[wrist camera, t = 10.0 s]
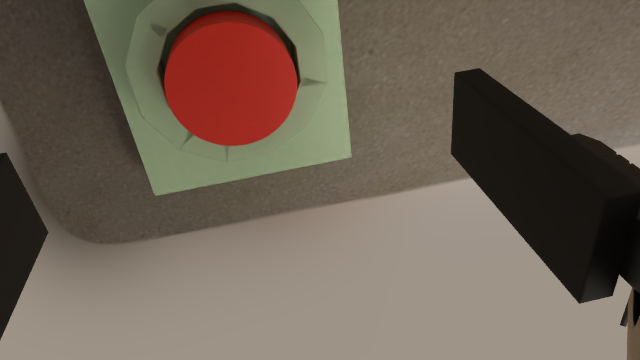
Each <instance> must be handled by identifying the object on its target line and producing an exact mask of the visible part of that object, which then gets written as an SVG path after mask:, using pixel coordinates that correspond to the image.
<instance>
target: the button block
mask: <svg viewBox="0 0 640 360" xmlns="http://www.w3.org/2000/svg"><path fill="white" fill-rule="evenodd" d="M84 3H85V6H86V8H87V11H88V14H89V17H90V19H91V22H92V25H93V28H94V30H95V33H96V36H97V39H98V41H99V44H100V47H101V50H102V52H103V55H104V58H105V61H106V63H107V66H108V69H109V72H110V74H111V77H112V80H113V83H114V85H115V88H116V91H117V94H118V96H119V99H120V102H121V105H122V107H123V110H124V113H125V116H126V118H127V121H128V124H129V127H130V129H131V132H132V135H133V138H134V140H135V143H136V146H137V149H138V151H139V154H140V157H141V160H142V162H143V165H144V168H145V171H146V173H147V176H148V179H149V182H150V184H151V187H152V190H153V193H154V195H155V196H158V195H163V194H168V193H173V192H178V191H183V190H188V189H193V188H199V187H204V186H209V185H214V184H219V183H224V182H229V181H234V180H239V179H244V178H249V177H254V176H260V175H265V174H270V173H275V172H280V171H285V170H290V169H295V168H300V167H305V166H310V165H315V164H321V163H326V162H331V161H336V160H341V159H346V158H351V157H352V156H351V145H350V134H349V122H348V111H347V100H346V89H345V78H344V67H343V56H342V45H341V33H340V22H339V11H338V0H84ZM224 10H229V11H239V12H244V13H247V14H250V15H253V16H255V17H257V18H259V19H261V20H262V21H264V22H266V23H267V24H268V25H269V26H271V27H272V28H273V29H274V30H275V31H276V32H277V33H278V35H279V36H280V38H281V39H282V40H283V42H284V44H285V46H286V48H287V50H288V52H289V55H290V57H291V59H292V62H293V64H294V67H295V71H296V76H297V94H296V99H295V102H294V105H293V108H292V110H291V112H290V114H289V116H288V117H287V119H286V120H285V121H284V123H283V124H282V125H281V126H280V127H279V128H278V129H277V130H276V131H274V132H273V133H272V134H270V135H269V136H267V137H265V138H264V139H262V140H259V141H257V142H254V143H251V144H247V145H240V146H224V145H218V144H213V143H210V142H207V141H205V140H203V139H201V138H198V137H197V136H195V135H194V134H192V133H191V132H189V131H188V130H187V129H186V128H184V126H183V125H182V124H181V123H180V122H179V121H178V120H177V118H176V117H175V116H174V114H173V112H172V111H171V109H170V107H169V104H168V101H167V98H166V94H165V87H164V78H165V71H166V66H167V61H168V57H169V52H170V50H171V47H172V44H173V43H174V41H175V39H176V37H177V36H178V34H179V33H180V32H181V31H182V30H183V29H184V28H185V27H186V26H187V25H188V24H189V23H191V22H192V21H193V20H195V19H197V18H198V17H200V16H203V15H205V14H208V13H212V12H216V11H224Z"/></svg>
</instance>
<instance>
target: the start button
mask: <svg viewBox="0 0 640 360" xmlns="http://www.w3.org/2000/svg"><path fill="white" fill-rule="evenodd" d="M164 87H165V94H166V98H167V101H168V104H169V107H170V109H171V111H172V112H173V114H174V116H175V117H176V118H177V120H178V121H179V122H180V123H181V124H182V125H183V126H184V128H186V129H187V130H188V131H189V132H191V133H192V134H194V135H195V136H197V137H198V138H201V139H203V140H205V141H207V142H210V143H213V144H218V145H224V146H240V145H247V144H251V143H254V142H257V141H259V140H262V139H264V138H265V137H267V136H269V135H270V134H272V133H273V132H274V131H276V130H277V129H278V128H279V127H280V126H281V125H282V124H283V123H284V121H285V120H286V119H287V117H288V116H289V114H290V112H291V110H292V108H293V105H294V102H295V99H296V94H297V76H296V71H295V67H294V64H293V62H292V59H291V57H290V55H289V52H288V50H287V48H286V46H285V44H284V42H283V40H282V39H281V38H280V36H279V35H278V33H277V32H276V31H275V30H274V29H273V28H272V27H271V26H269V25H268V24H267V23H266V22H264V21H262V20H261V19H259V18H257V17H255V16H253V15H250V14H247V13H244V12H239V11H229V10H224V11H216V12H212V13H208V14H205V15H203V16H200V17H198V18H197V19H195V20H193V21H192V22H191V23H189V24H188V25H187V26H186V27H185V28H184V29H183V30H182V31H181V32H180V33H179V34H178V36H177V37H176V39H175V41H174V43H173V44H172V47H171V50H170V52H169V57H168V61H167V66H166V71H165V78H164Z"/></svg>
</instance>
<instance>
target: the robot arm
mask: <svg viewBox="0 0 640 360" xmlns="http://www.w3.org/2000/svg"><path fill="white" fill-rule="evenodd" d="M451 154H452V155H453V157H454V158H455V159H456V160H457V161H458V162H459V164H460V165H461V166H462V167H463V168H464V169H465V171H466V172H467V173H468V174H469V175H470V176H471V178H472V179H473V180H474V181H475V182H476V183H477V185H478V186H479V187H480V188H481V189H482V190H483V192H484V193H485V194H486V195H487V196H488V197H489V199H490V200H491V201H492V202H493V203H494V204H495V206H496V207H497V208H498V209H499V210H500V211H501V213H502V214H503V215H504V216H505V217H506V218H507V220H508V221H509V222H510V223H511V224H512V225H513V227H514V228H515V229H516V230H517V231H518V233H519V234H520V235H521V236H522V237H523V238H524V240H525V241H526V242H527V243H528V244H529V245H530V247H532V249H533V250H534V251H535V252H536V254H537V255H538V256H539V257H540V258H541V259H542V261H543V262H544V263H545V264H546V265H547V266H548V268H549V269H550V270H551V271H552V272H553V273H554V275H555V276H556V277H557V278H558V279H559V280H560V282H561V283H562V284H563V285H564V286H565V288H567V290H568V291H569V292H570V293H571V294H572V296H573V297H574V298H575V299H576V300H577V302H578V303H579V304H580V303H584V302H588V301H592V300H597V299H601V298H605V297H610V296H613V292H614V289H615V286H616V283H617V279H618V276H619V275H621V277H622V278H624V280H626V281H627V282H628V283H629V284H630V285H631V286H632V287H633V288H632V291H631V294H630V297H629V300H628V302H627V305H626V308H625V312H624V314H623V317H622V320H621V323H620V325H622V326H626V325H627V323H628V337H627V360H640V169H639V168H638V167H637V166H635V165H634V164H630V163H629V161H628V160H627V159H625V158H624V157H622V156H621V155H617V154H616V152H615V151H614V150H612V149H611V148H609V147H608V146H606V145H605V144H604V143H602V142H601V141H598V140H595V139H593V138H590V137H587V136H585V135H582V134H574V135H570V134H569V133H567V132H566V131H564V130H563V129H562V128H560V127H559V126H558V125H556V124H555V123H554V122H552V121H551V120H549V119H548V118H547V117H545V116H544V115H543V114H541V113H540V112H538V111H537V110H536V109H534V108H533V107H532V106H530V105H529V104H528V103H526V102H525V101H523V100H522V99H521V98H519V97H518V96H517V95H515V94H514V93H512V92H511V91H510V90H508V89H507V88H506V87H504V86H503V85H502V84H500V83H499V82H497V81H496V80H495V79H493V78H492V77H491V76H489V75H488V74H486V73H485V72H484V71H482V70H481V69H480V68H478V69H473V70H467V71H461V72H456V73H455V76H454V99H453V121H452V143H451ZM47 234H48V231H47V229H46V227H45V225H44V223H43V221H42V219H41V217H40V216H39V214H38V212H37V210H36V208H35V206H34V204H33V202H32V200H31V199H30V197H29V195H28V193H27V191H26V189H25V187H24V185H23V183H22V182H21V179H20V178H19V176H18V174H17V172H16V170H15V168H14V166H13V164H12V163H11V161H10V159H9V157H8V155H7V153H1V154H0V339H1V337H2V335H3V333H4V330H5V328H6V326H7V324H8V321H9V319H10V317H11V315H12V312H13V310H14V308H15V306H16V304H17V301H18V299H19V297H20V294H21V292H22V290H23V288H24V285H25V283H26V281H27V279H28V277H29V274H30V272H31V270H32V268H33V265H34V263H35V261H36V258H37V256H38V254H39V252H40V250H41V248H42V245H43V243H44V241H45V239H46V236H47Z"/></svg>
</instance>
